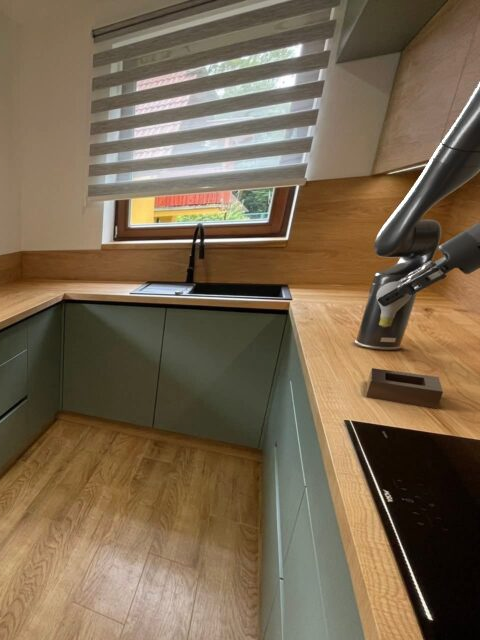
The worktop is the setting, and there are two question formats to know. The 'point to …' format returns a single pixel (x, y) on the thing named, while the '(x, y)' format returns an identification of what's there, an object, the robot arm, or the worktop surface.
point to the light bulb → (392, 308)
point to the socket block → (404, 387)
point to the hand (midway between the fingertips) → (380, 300)
